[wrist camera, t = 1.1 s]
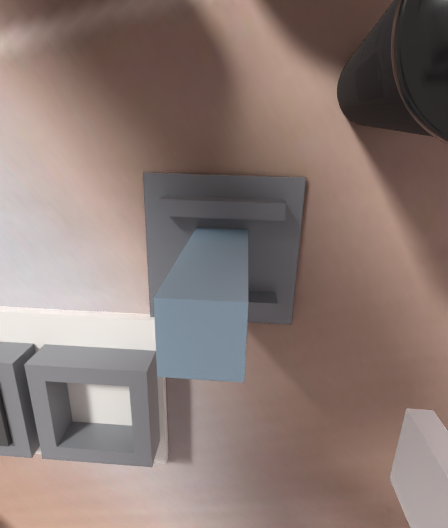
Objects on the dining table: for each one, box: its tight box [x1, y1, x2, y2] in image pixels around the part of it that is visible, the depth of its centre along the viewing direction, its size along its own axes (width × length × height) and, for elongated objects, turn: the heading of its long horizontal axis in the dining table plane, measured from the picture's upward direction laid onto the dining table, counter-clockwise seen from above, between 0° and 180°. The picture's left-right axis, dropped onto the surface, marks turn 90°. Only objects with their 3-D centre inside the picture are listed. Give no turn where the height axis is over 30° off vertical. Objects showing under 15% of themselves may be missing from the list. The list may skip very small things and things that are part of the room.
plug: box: [154, 228, 248, 382], centre depth 21 cm, size 4×4×13 cm
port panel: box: [0, 306, 168, 467], centre depth 31 cm, size 16×22×4 cm
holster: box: [143, 172, 306, 324], centre depth 27 cm, size 12×12×2 cm
